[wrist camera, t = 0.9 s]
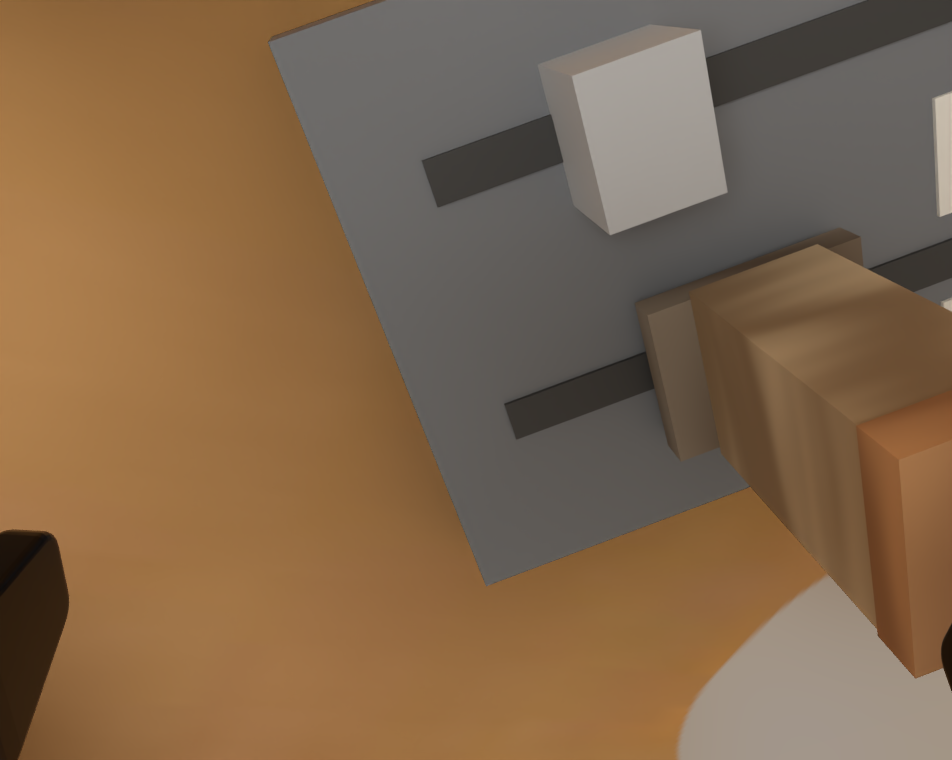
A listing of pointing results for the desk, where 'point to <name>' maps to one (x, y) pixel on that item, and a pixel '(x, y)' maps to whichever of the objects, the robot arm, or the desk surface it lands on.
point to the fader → (825, 418)
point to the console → (604, 214)
